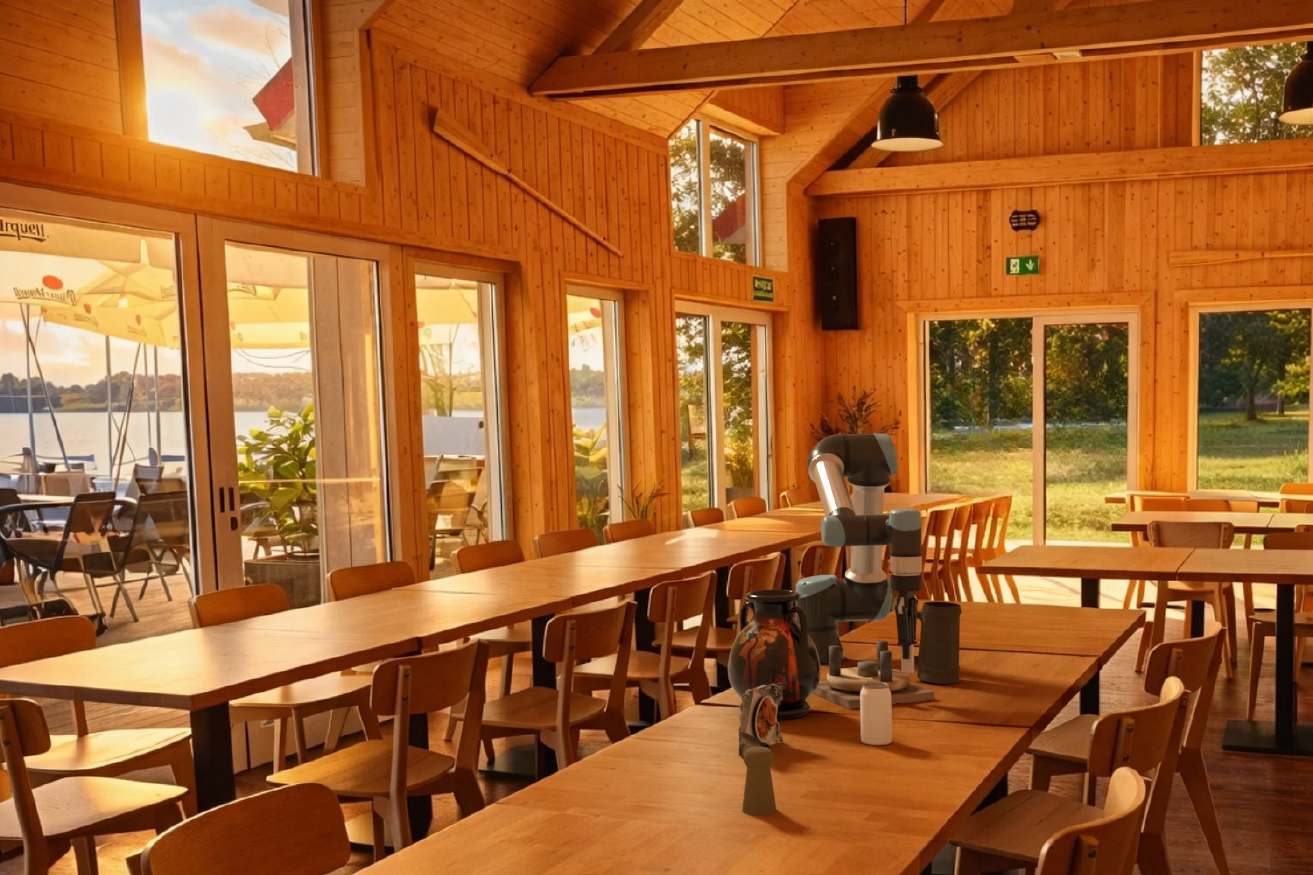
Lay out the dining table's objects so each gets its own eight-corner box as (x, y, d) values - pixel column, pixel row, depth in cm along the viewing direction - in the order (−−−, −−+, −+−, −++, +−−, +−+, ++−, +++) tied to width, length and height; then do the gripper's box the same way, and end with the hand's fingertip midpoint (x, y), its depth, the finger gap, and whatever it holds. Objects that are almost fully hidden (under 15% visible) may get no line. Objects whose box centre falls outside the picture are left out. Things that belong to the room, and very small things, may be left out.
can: (894, 739, 274) (893, 683, 274) (889, 746, 268) (888, 689, 268) (863, 737, 277) (862, 681, 276) (858, 744, 270) (857, 687, 270)
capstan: (879, 672, 331) (879, 637, 331) (926, 686, 313) (926, 649, 313) (811, 679, 323) (811, 643, 323) (855, 695, 305) (855, 657, 305)
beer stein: (959, 676, 338) (958, 600, 338) (965, 685, 327) (964, 606, 327) (899, 676, 340) (898, 600, 339) (903, 685, 329) (902, 606, 329)
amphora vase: (709, 714, 300) (707, 594, 300) (766, 698, 316) (764, 584, 316) (783, 728, 286) (781, 602, 285) (840, 711, 301) (838, 591, 301)
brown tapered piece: (739, 805, 230) (738, 744, 230) (773, 804, 230) (772, 742, 230) (744, 816, 224) (743, 752, 224) (779, 814, 224) (778, 751, 224)
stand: (805, 690, 325) (804, 680, 325) (885, 682, 333) (885, 673, 333) (849, 708, 303) (849, 699, 303) (934, 699, 311) (934, 690, 311)
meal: (757, 759, 261) (755, 694, 260) (738, 757, 263) (737, 692, 263) (789, 743, 273) (788, 681, 273) (771, 740, 276) (770, 679, 275)
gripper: (897, 570, 318) (899, 666, 318) (883, 576, 306) (885, 675, 306) (928, 571, 315) (929, 668, 315) (914, 577, 303) (916, 677, 303)
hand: (907, 671), depth 311 cm, fingers closed
